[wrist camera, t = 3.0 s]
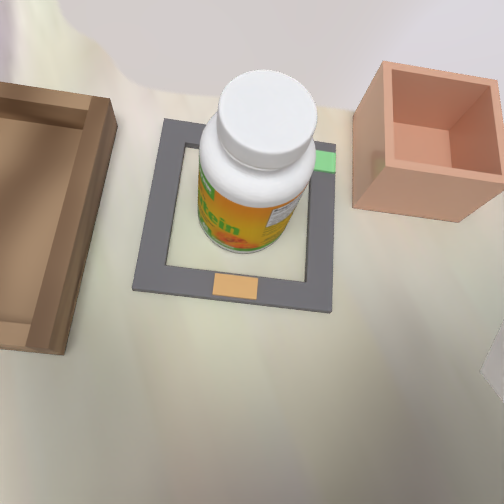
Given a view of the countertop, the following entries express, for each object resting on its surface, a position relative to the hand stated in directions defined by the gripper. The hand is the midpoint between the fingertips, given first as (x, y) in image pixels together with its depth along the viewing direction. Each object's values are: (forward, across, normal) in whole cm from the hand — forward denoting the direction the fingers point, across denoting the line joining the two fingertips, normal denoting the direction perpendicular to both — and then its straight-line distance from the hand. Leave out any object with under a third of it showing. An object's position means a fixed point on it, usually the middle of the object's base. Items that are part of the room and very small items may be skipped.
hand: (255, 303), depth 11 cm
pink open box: (+19, -11, 0) cm, 22 cm away
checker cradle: (+15, 0, +3) cm, 16 cm away
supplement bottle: (+16, 0, +3) cm, 16 cm away
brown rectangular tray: (+14, +12, +5) cm, 19 cm away
